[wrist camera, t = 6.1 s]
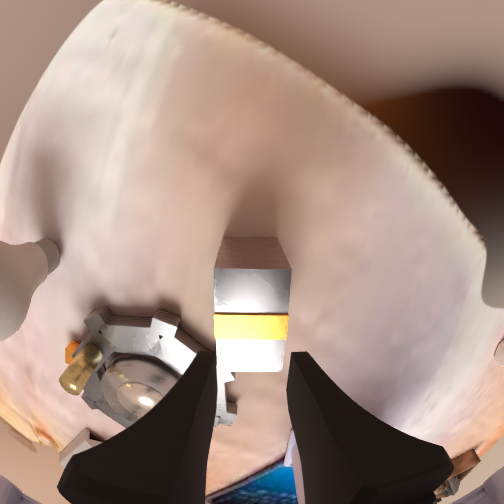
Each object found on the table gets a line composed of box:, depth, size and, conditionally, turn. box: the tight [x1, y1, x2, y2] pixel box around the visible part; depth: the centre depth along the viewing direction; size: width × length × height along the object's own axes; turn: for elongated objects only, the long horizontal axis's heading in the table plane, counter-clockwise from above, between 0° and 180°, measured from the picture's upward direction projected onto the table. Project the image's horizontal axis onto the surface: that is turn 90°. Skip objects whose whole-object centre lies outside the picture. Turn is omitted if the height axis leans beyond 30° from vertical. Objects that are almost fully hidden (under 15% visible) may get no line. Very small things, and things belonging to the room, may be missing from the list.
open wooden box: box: [447, 449, 481, 481], centre depth 32 cm, size 14×16×4 cm
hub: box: [101, 352, 182, 423], centre depth 20 cm, size 8×8×3 cm
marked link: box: [214, 237, 292, 372], centre depth 16 cm, size 4×6×6 cm, turn 178°
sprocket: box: [59, 306, 237, 428], centre depth 19 cm, size 15×15×6 cm
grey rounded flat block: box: [59, 428, 103, 469], centre depth 23 cm, size 17×5×10 cm, turn 137°
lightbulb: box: [0, 239, 60, 341], centre depth 13 cm, size 6×6×11 cm
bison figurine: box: [433, 475, 460, 504], centre depth 30 cm, size 12×7×10 cm
